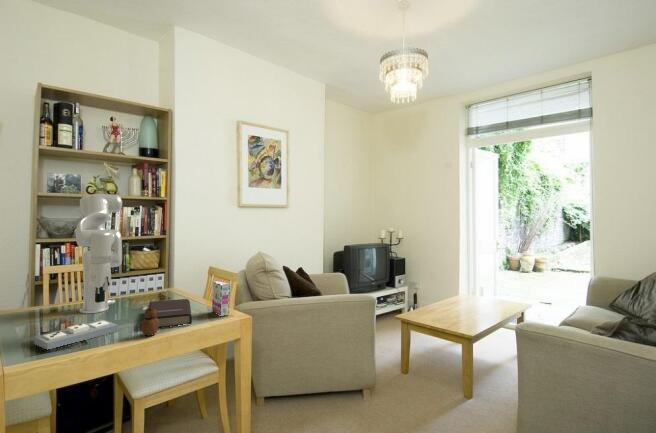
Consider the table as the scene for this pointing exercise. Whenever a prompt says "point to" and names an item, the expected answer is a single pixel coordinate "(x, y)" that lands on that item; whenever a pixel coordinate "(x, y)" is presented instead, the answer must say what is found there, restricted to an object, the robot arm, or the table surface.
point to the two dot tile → (78, 328)
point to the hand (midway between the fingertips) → (99, 301)
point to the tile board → (75, 336)
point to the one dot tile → (99, 324)
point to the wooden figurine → (150, 321)
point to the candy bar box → (220, 297)
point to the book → (172, 312)
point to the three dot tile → (54, 335)
